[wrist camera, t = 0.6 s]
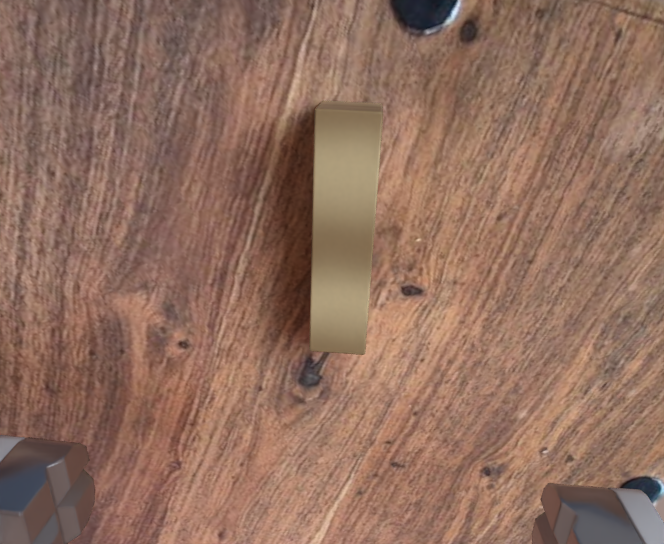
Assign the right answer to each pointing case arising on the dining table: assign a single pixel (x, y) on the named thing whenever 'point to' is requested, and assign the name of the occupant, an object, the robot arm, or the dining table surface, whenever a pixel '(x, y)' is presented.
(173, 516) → the dining table surface
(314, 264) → the stick
